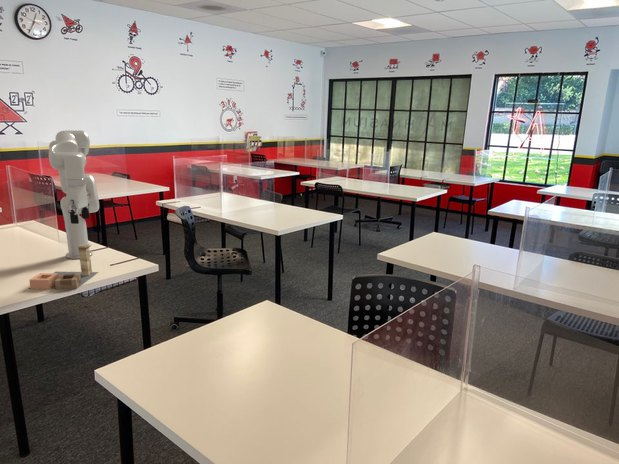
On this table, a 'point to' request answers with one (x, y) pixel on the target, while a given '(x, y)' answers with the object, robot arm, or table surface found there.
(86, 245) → the beige wooden post
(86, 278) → the charcoal mat
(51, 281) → the salmon pink square box
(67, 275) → the brown square ring
